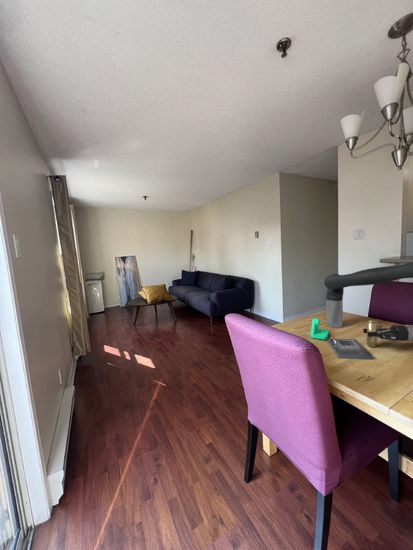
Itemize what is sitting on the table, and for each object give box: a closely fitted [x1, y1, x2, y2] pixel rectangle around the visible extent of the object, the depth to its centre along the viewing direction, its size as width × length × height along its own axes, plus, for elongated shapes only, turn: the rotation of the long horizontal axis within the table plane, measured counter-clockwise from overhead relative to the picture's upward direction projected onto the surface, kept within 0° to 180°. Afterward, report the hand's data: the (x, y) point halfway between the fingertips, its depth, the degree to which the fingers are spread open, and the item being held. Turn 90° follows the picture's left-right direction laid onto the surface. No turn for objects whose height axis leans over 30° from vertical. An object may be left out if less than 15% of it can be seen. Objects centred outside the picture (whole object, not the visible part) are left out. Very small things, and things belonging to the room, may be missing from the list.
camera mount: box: [310, 318, 330, 340], centre depth 133 cm, size 12×8×10 cm, turn 144°
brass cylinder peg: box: [366, 319, 378, 348], centre depth 116 cm, size 4×4×13 cm
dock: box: [326, 336, 373, 360], centre depth 114 cm, size 18×14×4 cm
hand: (365, 332), depth 117 cm, fingers closed on brass cylinder peg, 4 cm apart
